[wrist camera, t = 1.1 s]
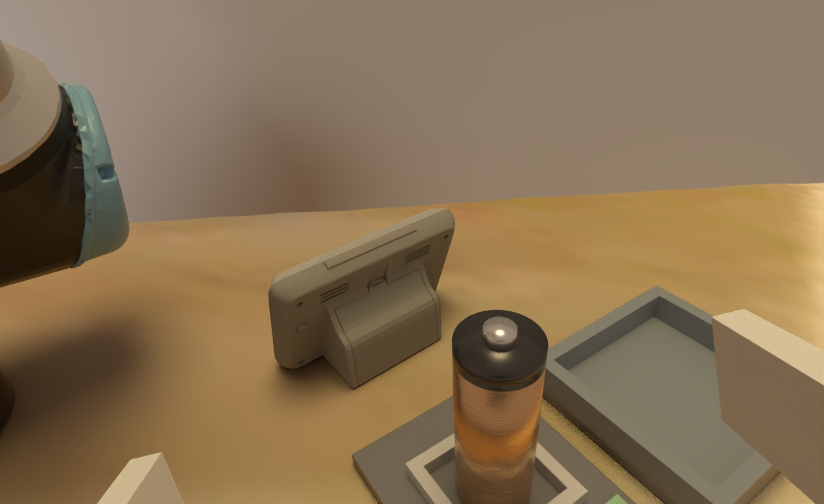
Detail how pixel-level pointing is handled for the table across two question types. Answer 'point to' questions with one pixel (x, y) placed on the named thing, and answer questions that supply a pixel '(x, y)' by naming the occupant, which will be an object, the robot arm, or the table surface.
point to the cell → (497, 405)
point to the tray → (656, 401)
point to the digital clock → (364, 299)
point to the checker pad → (435, 466)
